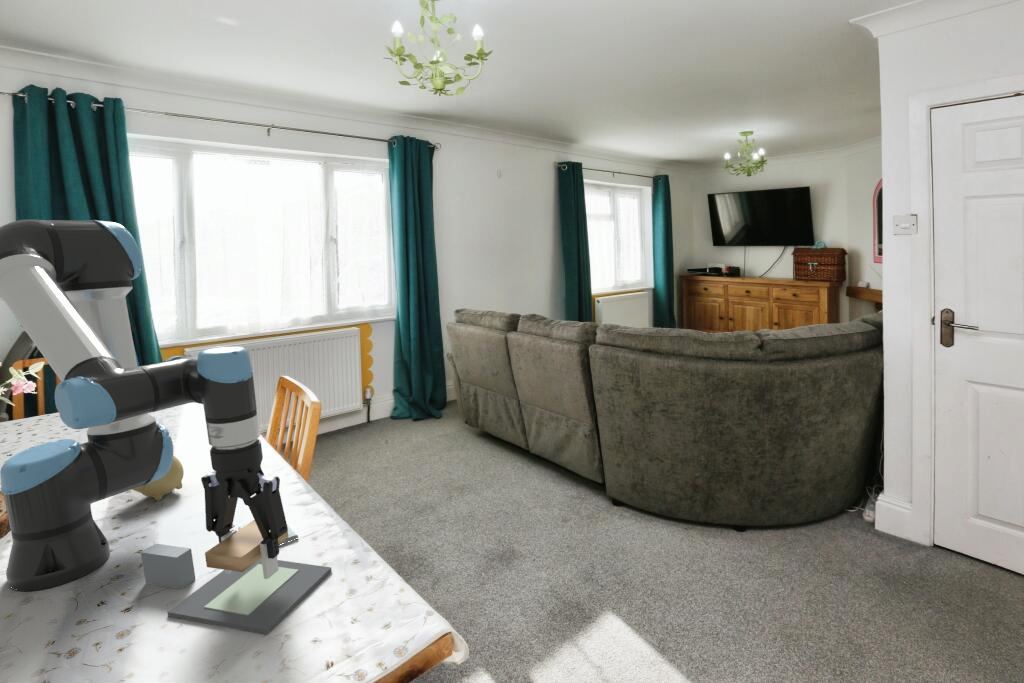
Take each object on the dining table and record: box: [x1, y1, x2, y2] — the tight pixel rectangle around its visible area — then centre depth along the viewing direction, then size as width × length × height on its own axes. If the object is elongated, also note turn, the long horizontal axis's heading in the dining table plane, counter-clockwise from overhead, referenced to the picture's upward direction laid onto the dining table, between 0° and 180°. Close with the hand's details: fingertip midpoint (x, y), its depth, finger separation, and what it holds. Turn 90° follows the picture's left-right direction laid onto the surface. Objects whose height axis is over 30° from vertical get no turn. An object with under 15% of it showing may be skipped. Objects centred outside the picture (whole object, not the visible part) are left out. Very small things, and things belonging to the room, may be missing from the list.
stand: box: [140, 543, 196, 590], centre depth 99 cm, size 8×3×6 cm, turn 74°
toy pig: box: [131, 455, 184, 502], centre depth 134 cm, size 10×12×11 cm
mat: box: [167, 559, 332, 635], centre depth 95 cm, size 19×17×1 cm
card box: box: [204, 520, 288, 572], centre depth 93 cm, size 11×7×2 cm, turn 164°
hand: (252, 571), depth 94 cm, fingers closed on card box, 7 cm apart
